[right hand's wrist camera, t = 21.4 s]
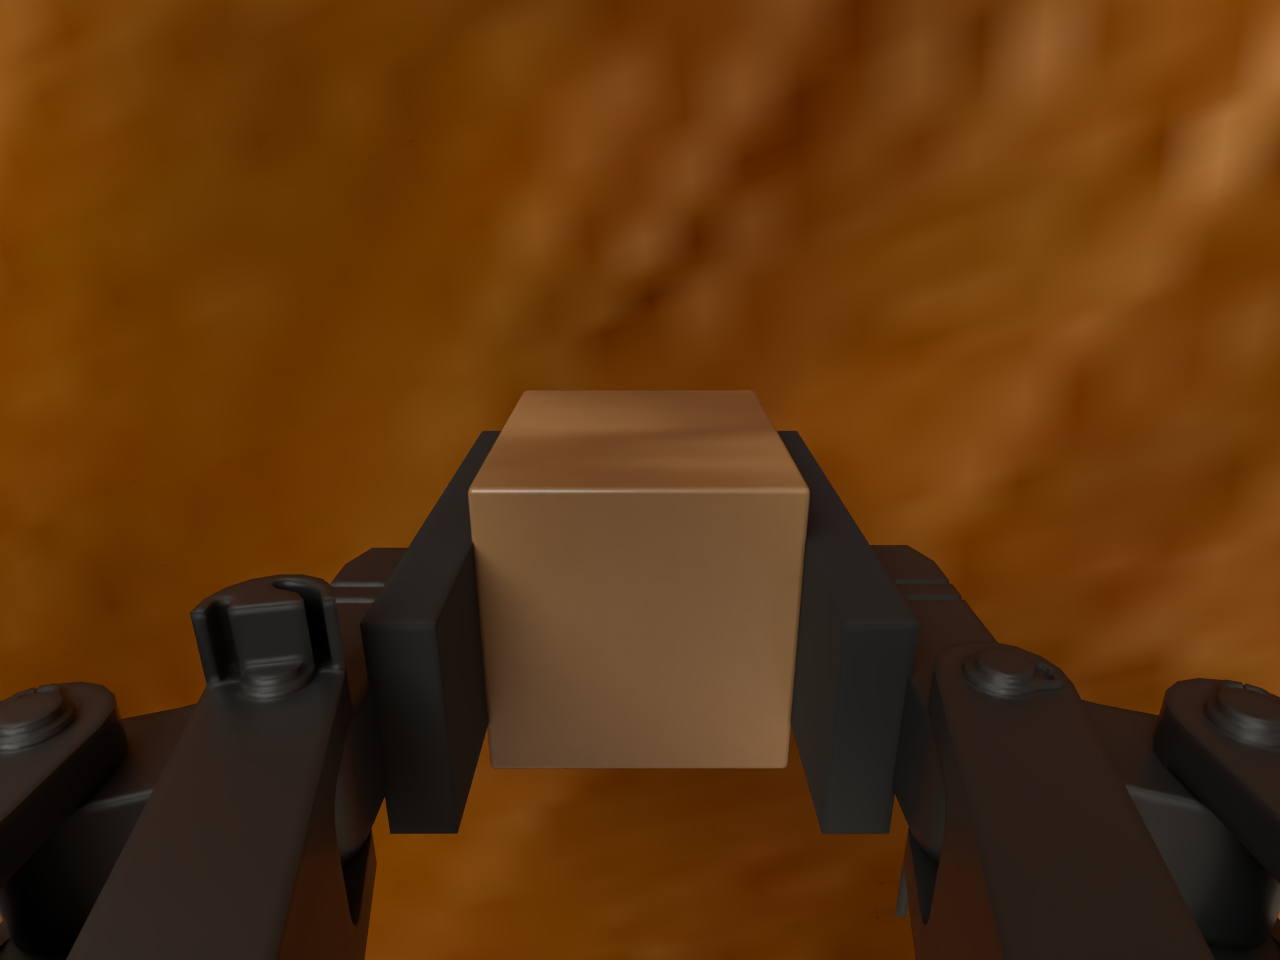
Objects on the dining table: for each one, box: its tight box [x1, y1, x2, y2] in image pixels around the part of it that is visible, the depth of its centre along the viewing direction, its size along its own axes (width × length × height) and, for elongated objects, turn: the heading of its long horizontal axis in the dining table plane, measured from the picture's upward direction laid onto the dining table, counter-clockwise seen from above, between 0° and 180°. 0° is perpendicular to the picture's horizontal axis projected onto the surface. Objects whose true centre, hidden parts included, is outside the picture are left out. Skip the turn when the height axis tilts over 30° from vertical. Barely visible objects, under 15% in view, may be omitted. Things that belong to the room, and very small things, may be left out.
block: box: [468, 390, 810, 769], centre depth 12 cm, size 4×4×5 cm
